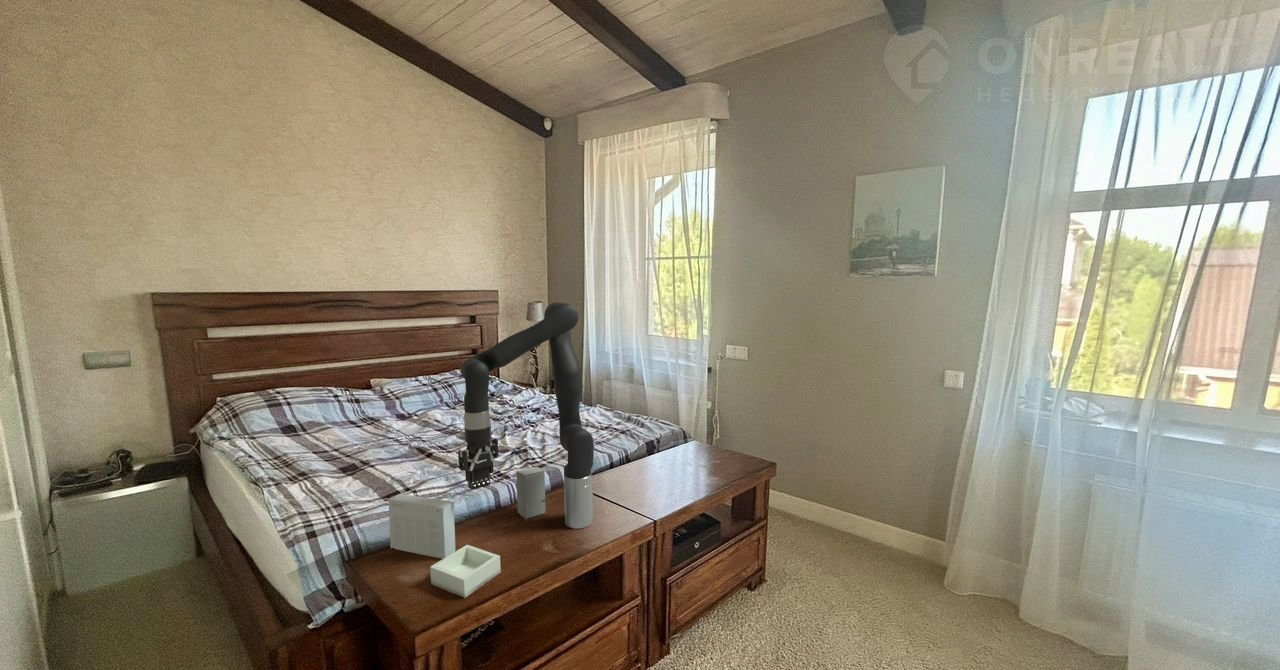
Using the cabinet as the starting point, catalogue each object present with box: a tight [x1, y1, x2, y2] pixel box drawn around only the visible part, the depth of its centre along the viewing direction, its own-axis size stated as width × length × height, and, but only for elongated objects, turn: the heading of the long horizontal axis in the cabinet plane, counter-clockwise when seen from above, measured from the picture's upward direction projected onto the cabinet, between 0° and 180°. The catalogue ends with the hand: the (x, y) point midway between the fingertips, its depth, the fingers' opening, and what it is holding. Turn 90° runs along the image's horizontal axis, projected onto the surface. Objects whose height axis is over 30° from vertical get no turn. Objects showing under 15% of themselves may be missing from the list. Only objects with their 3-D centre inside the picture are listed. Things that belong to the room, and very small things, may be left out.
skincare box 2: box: [515, 465, 546, 520], centre depth 178 cm, size 8×7×16 cm
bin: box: [429, 544, 502, 599], centre depth 140 cm, size 13×13×5 cm
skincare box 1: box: [387, 493, 456, 560], centre depth 155 cm, size 21×6×16 cm, turn 71°
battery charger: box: [467, 450, 491, 490], centre depth 153 cm, size 7×4×11 cm, turn 131°
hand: (480, 477), depth 154 cm, fingers closed on battery charger, 7 cm apart
